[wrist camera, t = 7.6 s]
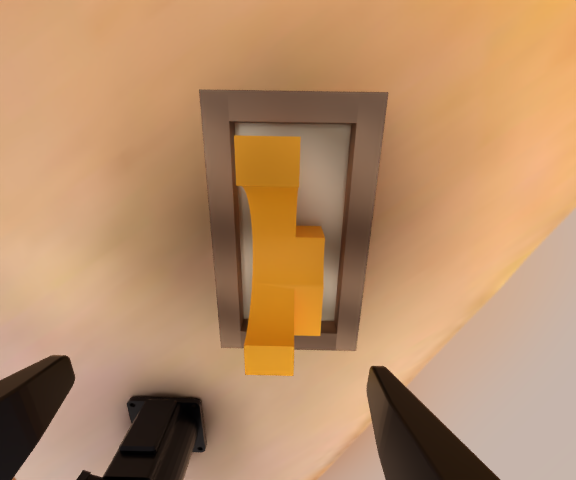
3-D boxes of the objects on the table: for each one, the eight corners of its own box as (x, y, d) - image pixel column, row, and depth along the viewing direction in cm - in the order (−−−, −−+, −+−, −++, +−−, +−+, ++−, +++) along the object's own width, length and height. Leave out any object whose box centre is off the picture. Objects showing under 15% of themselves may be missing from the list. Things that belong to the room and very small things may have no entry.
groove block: (350, 333, 22) (355, 350, 20) (226, 331, 22) (221, 347, 20) (377, 97, 16) (388, 92, 14) (209, 95, 16) (199, 89, 14)
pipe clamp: (316, 307, 21) (326, 376, 15) (259, 306, 21) (245, 374, 15) (326, 139, 17) (346, 137, 10) (255, 137, 17) (233, 135, 10)
